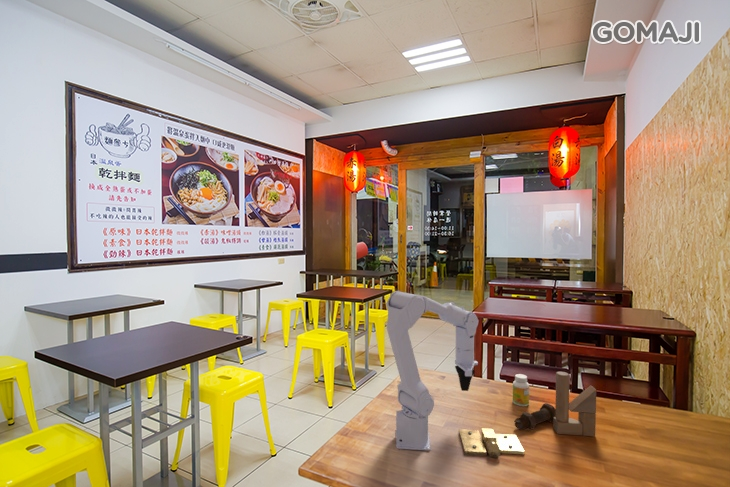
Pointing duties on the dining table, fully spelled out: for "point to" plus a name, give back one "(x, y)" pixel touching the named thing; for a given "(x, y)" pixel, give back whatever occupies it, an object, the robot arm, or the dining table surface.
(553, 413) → the bolt
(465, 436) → the fixed leaf
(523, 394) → the supplement bottle
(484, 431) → the loose leaf
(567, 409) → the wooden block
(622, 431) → the dining table surface
